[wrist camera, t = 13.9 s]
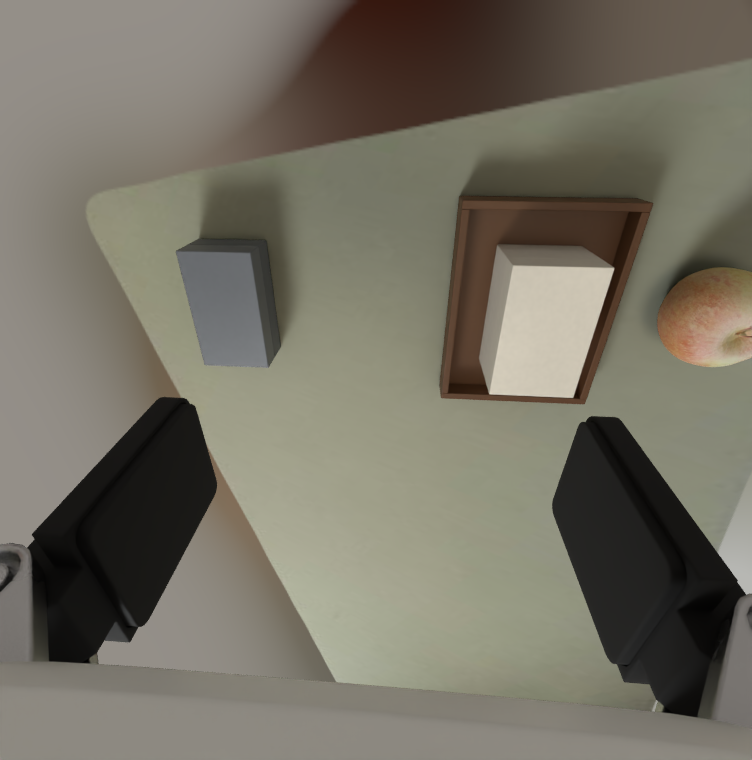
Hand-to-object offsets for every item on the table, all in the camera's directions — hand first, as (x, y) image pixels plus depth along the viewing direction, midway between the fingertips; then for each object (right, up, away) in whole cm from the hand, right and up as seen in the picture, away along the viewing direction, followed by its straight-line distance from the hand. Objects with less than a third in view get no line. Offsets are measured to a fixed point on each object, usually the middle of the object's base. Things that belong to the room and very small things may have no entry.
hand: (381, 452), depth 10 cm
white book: (+12, +6, +21) cm, 25 cm away
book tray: (+13, +8, +25) cm, 29 cm away
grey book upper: (-12, +8, +25) cm, 29 cm away
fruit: (+26, +9, +24) cm, 36 cm away
